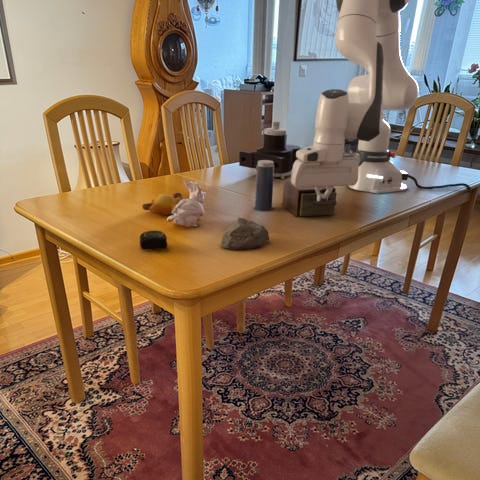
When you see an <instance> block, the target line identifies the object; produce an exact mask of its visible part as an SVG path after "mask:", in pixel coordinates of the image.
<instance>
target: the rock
mask: <svg viewBox="0 0 480 480" xmlns="http://www.w3.org/2000/svg"><path fill="white" fill-rule="evenodd" d="M266 242H270V237H269V230H267V228H266V227H264V225H262V224H259V223H257V222H255V221H253V220H248V219H245V218H242V217H240V216H239V217H237V218H236V220H235V222H234V223H232V224H231V225H230V226H229V227H228V228H227V229H226V230H225V231H224V232H223V236H222V239H221V245H222V247H223V248H224V249H230V250H232V251H244V250H250V249H256V248H259V247H260V246H261V245H265V244H266Z"/></svg>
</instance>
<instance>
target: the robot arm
mask: <svg viewBox="0 0 480 480" xmlns="http://www.w3.org/2000/svg"><path fill="white" fill-rule="evenodd" d="M335 3H336V4H335V5H336V10H337V11H338V13H339V14H338V19H337V22H336V27H335V37H334V42H335V43H334V44H335V46H336V49H337V51H338V52H339V54H340V55H341V56H343V57H344V58H345V59H346V60H348V61H350V62H352V63H353V64H356V65H358V66H360V67H362V68H363V69H364V70H365V71H366V72H367V74H360V75H357V76H354V77H353V78H352V79H351V80H350V82H349V84H348V86H347V90H343V89H340V88H339V89H338V88H336V89H335V88H333V89H332V88H331V89H327V90H324V91H322V92H321V93H320V95H319V99H318V104H317V107H316V113H315V122H314V127H315V134H314V138H313V142H312V144H311V145H309V146H306V147H303V148H302V149H301V150H298V151H297V152H296V157H297V158H298V159H297V160H296V161H295V162H294V165H293V169H292V173H291V175H290V179H291V183H292V184H293V186H295V187H315V188H314V189H315V191H316V193H317V201H328V196H329V195H330V193H331V192H332V190H333V187H344V186H345V187H348V188H350V189H352V190H355V191H359V192H367V193H373V194H386V193H395V192H403V191H407V190H408V186H407V185H406V184H404V183H403V181H408V179H411V180H412V181H413V182H414V185H415V186H416V187H417V188H418V189H423V190H425V189H426V190H433V189H435V190H436V189H444V188H451V187H465V188H467V189H468V190H469V189H471V186H470V185H469V184H467V183H464V182H461V183H449V184H442V185H432V186H423V185H420V184H419V183H418V179H416V177H415V176H413V175H410V174H409V173H408V172H406V171H405V170H400V169H399V168H398V167H397V166H396V165H395V164H394V163H393V162H392V160H391V158H392V159H396V157H397V153H396V152H395V151H389V145H390V140H391V134H392V129H391V126H390V124H389V123H388V122H387V121H385V120H384V111H392V112H393V111H395V112H398V111H405V110H409V109H410V108H411V107H413V106H414V104H415V103H416V101H417V99H418V96H419V84H418V82H417V80H416V78H414V77H412V75H411V74H410V73H409V72H408V70H407V69H406V67H405V65H404V63H403V60H402V56H401V49H400V48H401V46H400V42H401V41H400V40H401V39H400V38H401V37H400V35H401V33H400V32H401V15H400V12H401V11H403V10H404V9H405V8H406V7H407V6H408V4H409V3H410V0H335ZM344 138H350V139H357V140H359V142H358V148H357V149H356V153H354V152H353V153H352V152H350V153H344V144H345V139H344ZM322 186H326V188H327V190H326V192H325V193H324V194H321V193H320V190H321V189H322Z"/></svg>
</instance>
